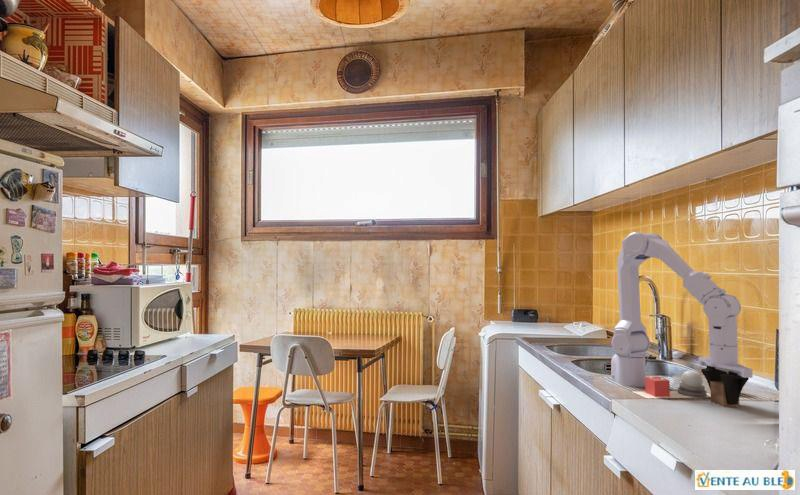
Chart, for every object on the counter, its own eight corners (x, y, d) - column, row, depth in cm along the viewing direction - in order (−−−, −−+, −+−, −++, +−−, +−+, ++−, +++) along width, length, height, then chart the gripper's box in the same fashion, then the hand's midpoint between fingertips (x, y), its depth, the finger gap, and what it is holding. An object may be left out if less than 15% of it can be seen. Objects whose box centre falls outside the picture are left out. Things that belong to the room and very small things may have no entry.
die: (645, 392, 122) (645, 375, 122) (659, 392, 123) (659, 375, 123) (654, 396, 118) (654, 378, 118) (669, 396, 119) (669, 378, 119)
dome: (674, 386, 124) (674, 368, 124) (694, 386, 124) (694, 368, 124) (689, 392, 118) (688, 372, 118) (710, 391, 119) (709, 372, 119)
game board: (631, 395, 123) (631, 387, 123) (699, 394, 125) (699, 386, 125) (673, 414, 107) (672, 405, 107) (750, 412, 108) (750, 404, 108)
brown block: (711, 405, 114) (710, 381, 114) (726, 405, 114) (725, 380, 114) (723, 410, 110) (722, 385, 110) (739, 410, 110) (738, 384, 110)
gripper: (686, 340, 120) (688, 393, 119) (731, 349, 105) (733, 410, 105) (712, 340, 120) (714, 393, 120) (760, 349, 106) (762, 410, 105)
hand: (724, 401), depth 112 cm, fingers closed on brown block, 4 cm apart
